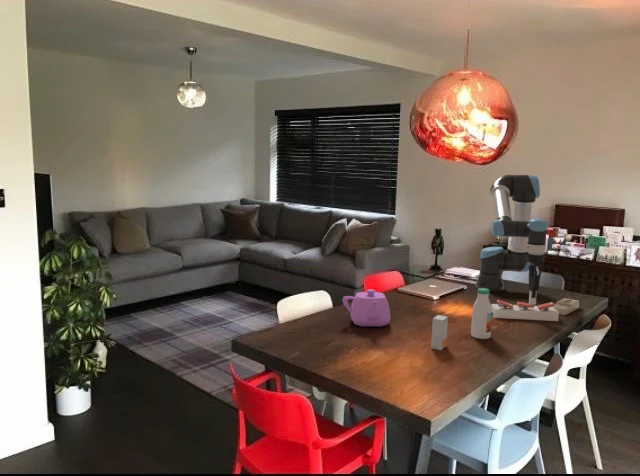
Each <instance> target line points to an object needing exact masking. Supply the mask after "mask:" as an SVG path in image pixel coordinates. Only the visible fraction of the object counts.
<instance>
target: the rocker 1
mask: <svg viewBox="0 0 640 476" xmlns="http://www.w3.org/2000/svg"><path fill="white" fill-rule="evenodd" d="M496 302H497V304H502V305H504V306H507V307H510V308H513V305H514V304H511V303H509V302H506V301H503V300H501V299H497V300H496Z"/></svg>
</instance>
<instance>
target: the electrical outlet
mask: <svg viewBox="0 0 640 476" xmlns="http://www.w3.org/2000/svg"><path fill="white" fill-rule="evenodd" d="M554 305H555V306H553V307H554V308H555V309H556V310H557V311H558V312H559V315H561V316H566V315H568V314H570V313H572V312H574V311H575V310H578V309H580V300H578V299H577V300H576V299H571V298H566V297H564V298H562V299H560V300H558V301H556V302H555V303H554Z"/></svg>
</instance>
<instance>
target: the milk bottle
mask: <svg viewBox="0 0 640 476" xmlns="http://www.w3.org/2000/svg"><path fill="white" fill-rule="evenodd" d="M489 296H490V291H489V289H486V288H479V289H477V297H476V300H475V301H474V303H473V306H472V311H471V328H470V335H471V337H473V338H475V339H480V340H487V339H490V338H491V335H492V322H493V321H492V317H493V315H492V307H491V304H492V303H491V302H490V299H489Z"/></svg>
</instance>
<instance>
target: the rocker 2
mask: <svg viewBox="0 0 640 476" xmlns="http://www.w3.org/2000/svg"><path fill="white" fill-rule="evenodd" d="M516 305H518V306H523V307H530V308H534V306H535V305H533V304H529V302H528V303H527V302H522V301H517V302H516Z"/></svg>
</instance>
